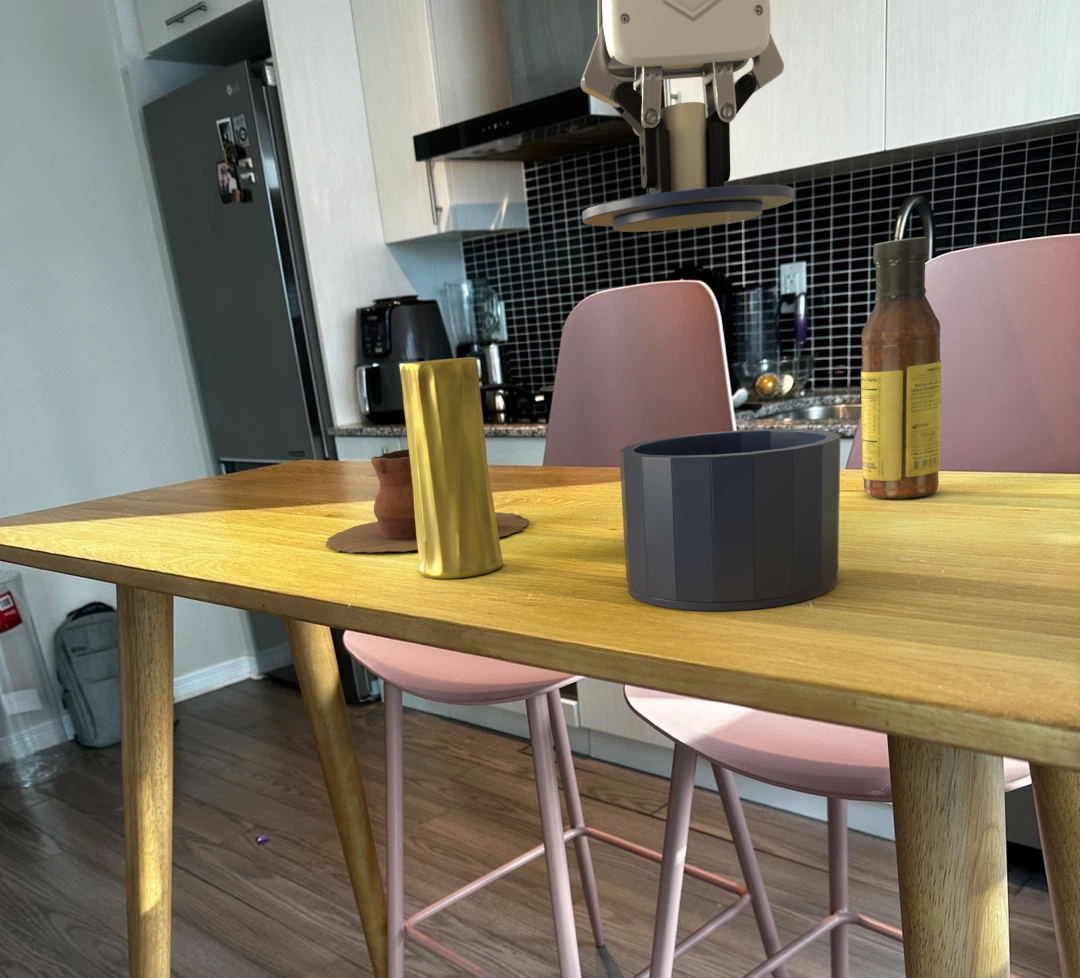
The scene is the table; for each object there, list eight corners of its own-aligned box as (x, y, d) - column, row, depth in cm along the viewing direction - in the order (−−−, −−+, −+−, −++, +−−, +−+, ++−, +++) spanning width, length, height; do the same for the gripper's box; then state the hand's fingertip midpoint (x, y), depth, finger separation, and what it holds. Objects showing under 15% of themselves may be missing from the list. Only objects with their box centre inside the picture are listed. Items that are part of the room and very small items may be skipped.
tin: (759, 552, 71) (758, 425, 68) (883, 586, 60) (888, 435, 57) (594, 582, 67) (585, 448, 64) (693, 624, 56) (688, 463, 53)
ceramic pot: (505, 549, 80) (496, 456, 77) (292, 559, 83) (276, 471, 81) (545, 509, 96) (538, 431, 94) (365, 519, 100) (355, 444, 97)
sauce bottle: (936, 487, 89) (948, 236, 82) (942, 499, 84) (955, 231, 77) (857, 490, 91) (863, 245, 84) (858, 502, 86) (864, 241, 79)
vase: (484, 579, 70) (461, 359, 65) (404, 579, 72) (375, 366, 67) (515, 559, 76) (496, 354, 71) (439, 560, 78) (415, 361, 73)
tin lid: (720, 229, 76) (718, 127, 74) (838, 202, 64) (840, 79, 62) (551, 239, 72) (542, 131, 70) (643, 212, 60) (637, 80, 57)
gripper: (549, -168, 57) (573, 200, 63) (831, -181, 58) (827, 180, 65) (532, -112, 64) (556, 215, 70) (785, -124, 65) (785, 196, 72)
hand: (686, 195), depth 68 cm, fingers closed on tin lid, 2 cm apart
